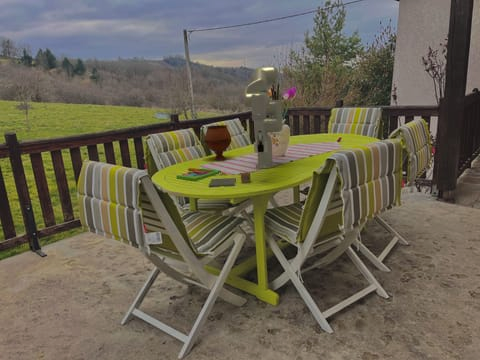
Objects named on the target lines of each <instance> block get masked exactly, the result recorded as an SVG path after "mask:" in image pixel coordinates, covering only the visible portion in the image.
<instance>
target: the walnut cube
mask: <svg viewBox="0 0 480 360" xmlns="http://www.w3.org/2000/svg"><path fill="white" fill-rule="evenodd" d="M251 179H252V178H251V172H250V171H249V172H241V173H240V181H241V183H243V184H252V183H251Z"/></svg>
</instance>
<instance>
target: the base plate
mask: <svg viewBox="0 0 480 360" xmlns="http://www.w3.org/2000/svg"><path fill="white" fill-rule="evenodd" d="M236 180H237V178H236V177H228V178H225V177H224V178H212V179H211V180H210V182H209V184H208V188H219V187H220V186H224V187H235V186H236ZM220 188H221V187H220Z"/></svg>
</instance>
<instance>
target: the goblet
mask: <svg viewBox="0 0 480 360" xmlns="http://www.w3.org/2000/svg"><path fill="white" fill-rule="evenodd" d="M206 128H207V129H206V132H205V135H204V144H205V145H206V147H207V148H208V149H209V150H210V151H212V152H214V154H215V155H216V156H215V157H214V158H213V160H216V161H215V162H220V161H221V160H222V161H226V159H227V158H226V157H225V156H224V155H223V154H224V151H226V150H227V149H228V148H229V147H230V145H231V143H232V136H231V134H230V133H231V132H230V131H229V128H228V125H226V124H222V125H219V124H217V125H209V126H207V127H206Z"/></svg>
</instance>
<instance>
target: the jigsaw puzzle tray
mask: <svg viewBox="0 0 480 360" xmlns="http://www.w3.org/2000/svg"><path fill="white" fill-rule="evenodd" d="M187 171H188V172H187V173H182V174H179V175H176V179H177V180H184V181H189V182H198V181H201V180H204V179H208V178H210V177H213V176H217V175H220V174H222V170H220V169H212V168H205V167H202V168H197V167H196V168H195V167H188V168H187ZM219 173H220V174H219Z"/></svg>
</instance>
